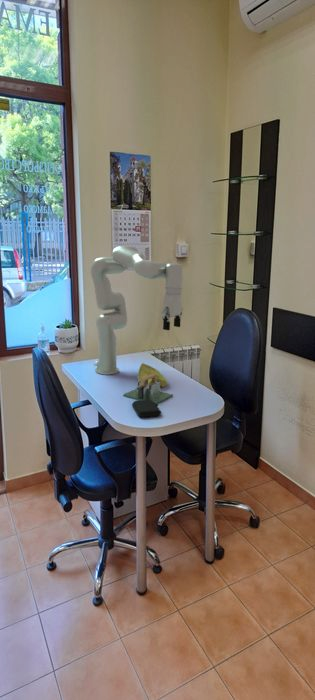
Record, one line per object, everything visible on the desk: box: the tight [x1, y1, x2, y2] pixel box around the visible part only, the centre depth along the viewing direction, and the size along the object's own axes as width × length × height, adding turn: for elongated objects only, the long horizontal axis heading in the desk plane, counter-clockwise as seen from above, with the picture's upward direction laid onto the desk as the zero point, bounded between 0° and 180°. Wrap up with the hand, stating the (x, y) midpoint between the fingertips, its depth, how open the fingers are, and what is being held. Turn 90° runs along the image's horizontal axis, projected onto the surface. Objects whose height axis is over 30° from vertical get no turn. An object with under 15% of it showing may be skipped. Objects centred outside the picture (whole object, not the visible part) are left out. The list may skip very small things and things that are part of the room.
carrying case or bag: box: [131, 400, 162, 419], centre depth 186 cm, size 11×3×15 cm
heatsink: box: [122, 380, 174, 405], centre depth 204 cm, size 18×15×7 cm
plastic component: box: [137, 362, 169, 388], centre depth 224 cm, size 20×7×10 cm
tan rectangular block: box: [140, 373, 157, 388], centre depth 203 cm, size 2×9×4 cm, turn 147°
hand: (171, 328), depth 207 cm, fingers open, 9 cm apart
